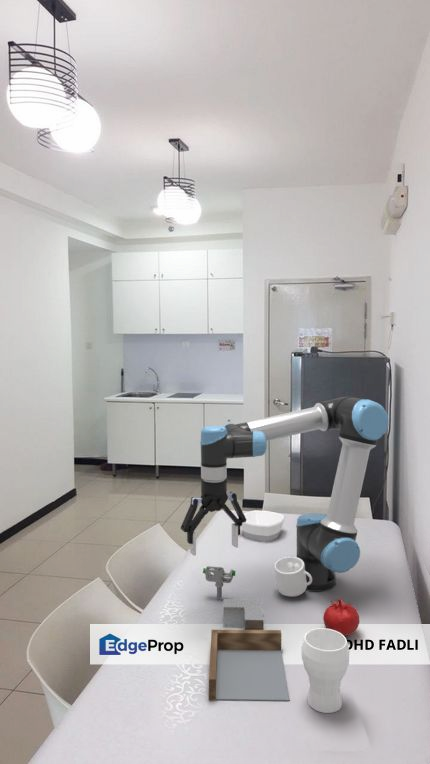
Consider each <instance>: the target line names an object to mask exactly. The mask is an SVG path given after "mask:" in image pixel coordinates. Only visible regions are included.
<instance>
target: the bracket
mask: <svg viewBox="0 0 430 764" xmlns="http://www.w3.org/2000/svg"><path fill="white" fill-rule="evenodd" d="M223 628H243V630H264V613H263V605H262V599H261V598H260V599H258V598H257V599H253V598H252V599H251V598H248V599H247V598H245V599H243V598H223Z"/></svg>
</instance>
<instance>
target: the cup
mask: <svg viewBox="0 0 430 764" xmlns="http://www.w3.org/2000/svg"><path fill="white" fill-rule="evenodd" d="M301 659H302V662H303V666H304V670H305V671H306V673H307V676H308V681H309V682H308V683H309V688H308V693H307V703H308V705H309V706H310V707H311V708H312V709H314V710H315V711H317V712H320V713H323V714H331V713H335V712H338V711H339V710H340V709H341V708H342V706H343V701H342V699H343V698H342V692H341V682H342V679H344V677H345V675H346V673H347V670H348V667H349V664H350V649H349V644H348V641H347V638H346V637H345V635H342V634H341V633H339V632H337V631H335V630H332V629H327V628H326V627H321V628H320V627H318V628H313V629H310V630H309V631H308V630H307V632H306V633H305V634H304V638H303V642H302V645H301Z"/></svg>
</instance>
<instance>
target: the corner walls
mask: <svg viewBox="0 0 430 764" xmlns="http://www.w3.org/2000/svg"><path fill="white" fill-rule="evenodd" d="M210 633H211V635H210V649H209V650H210V651H209V666H208V667H209V669H208V700H209V701H217V700H216V678H217V650H281V651H282V630H281V629H279V630H278V629H275V630H274V629H263V630H244V629H211V632H210Z"/></svg>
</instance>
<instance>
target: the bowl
mask: <svg viewBox="0 0 430 764" xmlns="http://www.w3.org/2000/svg"><path fill="white" fill-rule="evenodd" d="M243 514H244V516H245V518H246V522H243V523H242V526H240V528H241V529H242V533H243V535H244V537H245V538H247V539H250V540H253V541H256V542H264V543H269V542H272V541H275V540H277V539H278V537H280V533H281V530H282V528H283V526H284V523H285V518H286V517H285V515H284V514H281V513H279V512H275V511H274V512H273V511H270V510H269V511H268V510H258V509H257V510H256V509H255V510H249V511H247V512H245V513H243Z"/></svg>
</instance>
